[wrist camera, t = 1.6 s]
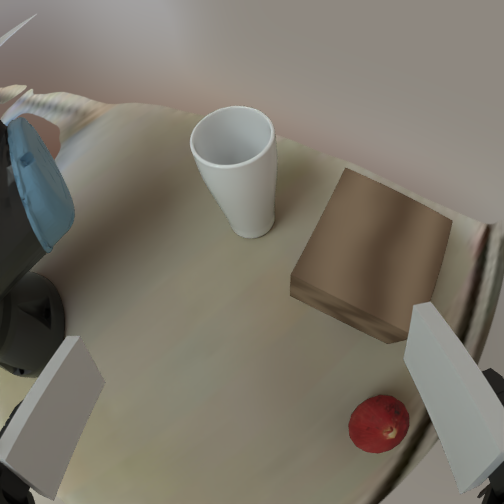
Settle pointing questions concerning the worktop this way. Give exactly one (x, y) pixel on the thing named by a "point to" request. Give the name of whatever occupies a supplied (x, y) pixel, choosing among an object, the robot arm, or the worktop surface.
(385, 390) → the worktop surface
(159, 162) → the worktop surface
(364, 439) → the onion
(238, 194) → the white tumbler
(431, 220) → the walnut stand
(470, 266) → the worktop surface
